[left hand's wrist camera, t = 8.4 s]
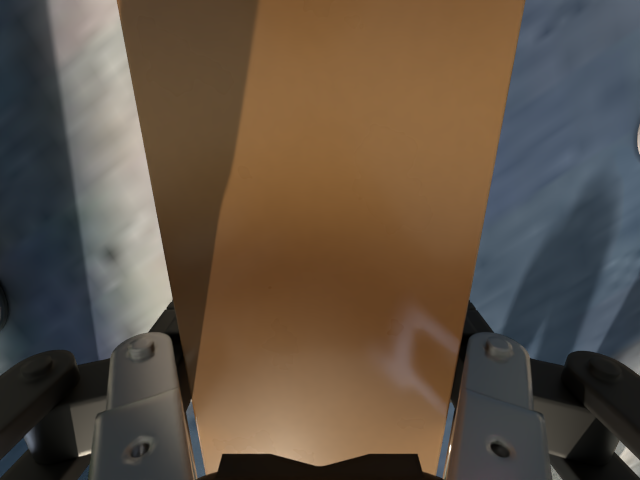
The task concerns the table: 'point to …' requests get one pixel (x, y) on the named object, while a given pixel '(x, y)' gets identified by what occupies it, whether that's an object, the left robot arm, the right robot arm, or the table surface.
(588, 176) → the table surface
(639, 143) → the coffee cup
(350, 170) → the box
